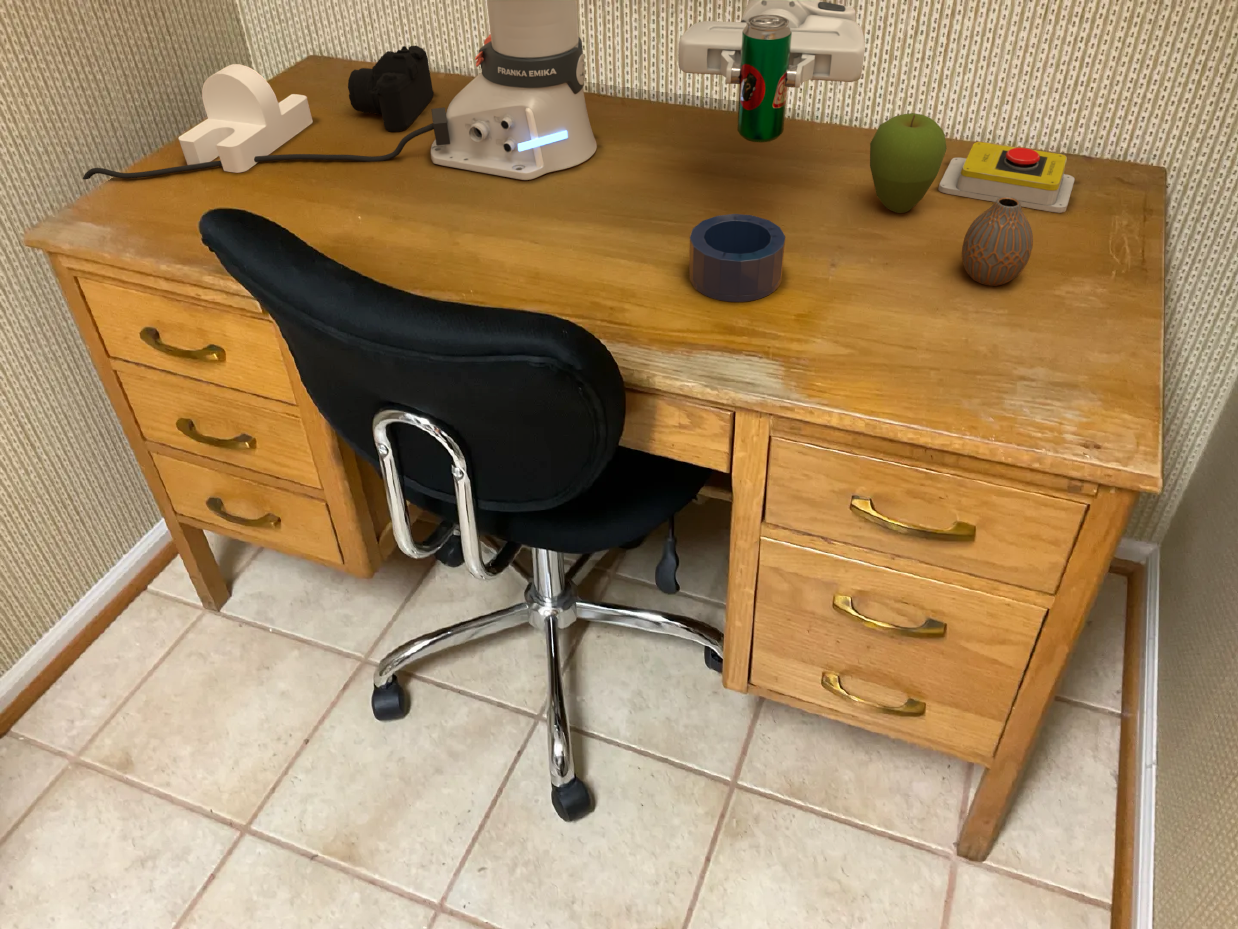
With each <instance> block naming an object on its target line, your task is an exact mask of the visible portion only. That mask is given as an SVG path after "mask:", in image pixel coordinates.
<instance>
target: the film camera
mask: <svg viewBox="0 0 1238 929" xmlns="http://www.w3.org/2000/svg"><path fill="white" fill-rule="evenodd" d="M347 90H348V99H349V101H350V105H351V107H352V108H353V110H354V111H355V112H361V113H363V114H376V115H381V116H382V117H381V118H382V122H383V126H384V129H385V131H387V132H390V133H397V132H398V133H399V132H402V131H403V132H404V131H406V130H407V129H409V127H410V126H411V125H412V124H413V123H414V122H415V120H416V119H417V118H418V117H419V116H420V115H421V113H422V112H423V111H424V110H425V108H427V106H428V105H429V104H430V102H431V101H432V99H433V98H434V93H435V92H434V89H433V83H432V78H431V71H430V65H429V57H428V54H427V51H426V50H425V49H424V48H423V47H420V46H419V45H410V46H408V48H407V46H405V45H403V46H401V49H397V51H396V52H395V51H390V50H387V51H386V52H384V54H382V56H381V57H379V59H378V60H377V62H376V63H375V64H374V66H372V68H367V67H361V68H359V69H353V70H352V71H351V72H350V74H349V77H348V81H347Z"/></svg>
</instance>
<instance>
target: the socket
mask: <svg viewBox="0 0 1238 929" xmlns="http://www.w3.org/2000/svg"><path fill="white" fill-rule="evenodd" d="M785 246H786V235H785V233H784V231H783V230H782V228H781V227H780V226H779V225H777V224H776V223H775V222H773V221H771V220H769V219H766V218H763V217H759V216H756V215H753V214H743V213H728V214H721V215H720V214H719V215H716V216H713V217H709V218H706V219H704V220H701V221H700V222H699V223H698V224H696V225H695V226H694V227H693V228H692V230H691V232H690V235H689V247H688V248H689V249H688V251H689V253H688V254H689V255H688V258H689V259H688V272H689V281H690V284H691V285H692V287H693V288H694V289H695V290H696V291H697V292H698V293H699V294H702V295H704V296H706V297H708V298H710V299H714V300H718V301H722V302H728V303H730V302H731V303H745V302H753V301H756V300H757V301H758V300H760V299H764V298H765V297H768V296H770V295H771V294H772V293H774V292H775V291H776V290H777V289H778V288H779V286H780V285H781V282H782V274H783V268H784V257H785Z"/></svg>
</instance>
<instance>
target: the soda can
mask: <svg viewBox="0 0 1238 929" xmlns="http://www.w3.org/2000/svg"><path fill="white" fill-rule="evenodd" d="M746 24H747V25H746V27H745V28H744V30H743V31H742V48H741V67H740V68H741V71H740V84H739V89H738V105H737V111H738V112H737V126H736V129H737V132H738V134H739V136H740V137H741V138H742V139H744V140H746V141H748V142H752V143H761V144H763V143H769V142H773V141H775V140H777V139H778V138H780V137H781V135H782V134H783V133H784V129H785V118H786V106H787V96H788V95H787V94H788V87H786V81H787V71H788V69H789V61H790V49H791V37H792V31H791V29H790V28H789V20H788V19H786V18H785V17H782V16H778V15H757V16H753V17H751V18H749V19H748V20H747V22H746Z"/></svg>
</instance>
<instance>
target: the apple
mask: <svg viewBox="0 0 1238 929" xmlns="http://www.w3.org/2000/svg"><path fill="white" fill-rule="evenodd" d="M947 150H948V149H947V139H946V134H945V132H944V129H942V127H941V126H940V124H938V123H937V121H935V120H934V119H932V118H931V117H930V116H927V115H925V114H921V113H915V112H909V113H902V114H899V115H895V116H893V117H891V118H889V119H887V120H886V121H884V122H882V123H881V124H879V126H878V128H877V130H876V132H875V134H874V135H873V137H872V139H871V141H870V142H869V168H870V172H871V178H872V181H873V186H874V191H875V196H876V197H877V198H878V200H879V201H880V202H881V203H882V205H883V206H884V208H886V209H887V210H889V211H891V212H894V213H896V214H904V213H908V212H910V211H911V209H913V208H914V207H915V206H916V205H917V204H918V203H919V202H921V201H922V200H923V198H924V196H925V195H926V194H927V193H928V190H929V189H930V187H932V186H931V185H932V184H933V182H934V181H935V180H936V178H937V176H938V174H939V172H940V170H941V166H942V164H943V160H944V158H945V155H946V151H947Z"/></svg>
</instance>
